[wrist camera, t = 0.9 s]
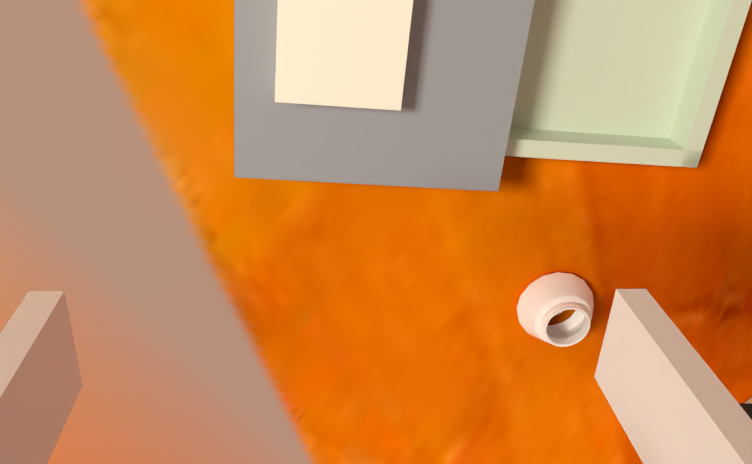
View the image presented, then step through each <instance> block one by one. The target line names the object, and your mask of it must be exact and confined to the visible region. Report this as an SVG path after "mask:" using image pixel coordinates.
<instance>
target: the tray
mask: <svg viewBox="0 0 752 464" xmlns="http://www.w3.org/2000/svg"><path fill="white" fill-rule="evenodd" d="M751 1H752V0H535V1H534V6H533V12H532V17H531V22H530V27H529V33H528V38H527V43H526V48H525V54H524V59H523V64H522V69H521V75H520V80H519V85H518V90H517V96H516V101H515V106H514V111H513V116H512V122H511V127H510V132H509V137H508V143H507V148H506V153H505V156H514V157H530V158H547V159H563V160H580V161H596V162H613V163H629V164H646V165H662V166H679V167H695V168H697V167H698V163H699V160H700V157H701V154H702V151H703V148H704V145H705V142H706V139H707V136H708V133H709V130H710V127H711V124H712V121H713V118H714V115H715V111H716V108H717V105H718V102H719V99H720V96H721V93H722V90H723V87H724V84H725V81H726V78H727V75H728V72H729V69H730V66H731V63H732V59H733V56H734V53H735V50H736V47H737V44H738V41H739V38H740V35H741V32H742V29H743V26H744V23H745V20H746V17H747V14H748V10H749V7H750V4H751Z"/></svg>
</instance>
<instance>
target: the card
mask: <svg viewBox="0 0 752 464" xmlns="http://www.w3.org/2000/svg"><path fill="white" fill-rule="evenodd" d="M412 8H413V0H278V6H277V40H276V74H275V102H281V103H296V104H311V105H325V106H340V107H355V108H370V109H384V110H399V111H401V104H402V95H403V86H404V78H405V69H406V60H407V51H408V43H409V34H410V25H411V16H412Z"/></svg>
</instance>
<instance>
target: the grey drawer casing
mask: <svg viewBox="0 0 752 464" xmlns="http://www.w3.org/2000/svg"><path fill="white" fill-rule="evenodd" d="M534 1H535V0H413V8H412V16H411V25H410V34H409V43H408V51H407V60H406V69H405V78H404V86H403V95H402V104H401V111H399V110H384V109H370V108H355V107H340V106H325V105H311V104H296V103H281V102H275V74H276V40H277V6H278V0H235V6H234V177H241V178H259V179H278V180H296V181H315V182H333V183H352V184H370V185H389V186H407V187H426V188H444V189H463V190H481V191H498V190H499V185H500V179H501V174H502V169H503V164H504V158H505V153H506V148H507V143H508V137H509V132H510V127H511V122H512V116H513V111H514V106H515V101H516V96H517V90H518V85H519V80H520V75H521V69H522V64H523V59H524V54H525V48H526V43H527V38H528V33H529V27H530V22H531V17H532V12H533V6H534Z"/></svg>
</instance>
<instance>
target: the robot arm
mask: <svg viewBox="0 0 752 464" xmlns="http://www.w3.org/2000/svg"><path fill="white" fill-rule="evenodd" d="M595 379H596V381H597V382H598V384H599V386H600V388H601V390H602V391H603V393H604V395H605V397H606V398H607V400H608V402H609V404H610V406H611V407H612V409H613V411H614V413H615V414H616V416H617V418H618V420H619V422H620V423H621V425H622V427H623V429H624V430H625V432H626V434H627V436H628V438H629V439H630V441H631V443H632V445H633V446H634V448H635V450H636V452H637V454H638V455H639V457H640V459H641V461H642V462H643V464H752V403H740V404H739V403H738V402H737V401H736V400H735V399H734V397H733V396H732V395H731V394H730V392H729V391H728V390H727V389H726V387H725V386H724V385H723V384H722V382H721V381H720V380H719V379H718V377H717V376H716V375H715V374H714V373H713V371H712V370H711V369H710V368H709V366H708V365H707V364H706V363H705V361H704V360H703V359H702V358H701V356H700V355H699V354H698V353H697V351H696V350H695V349H694V348H693V347H692V345H691V344H690V343H689V342H688V340H687V339H686V338H685V337H684V335H683V334H682V333H681V332H680V330H679V329H678V328H677V327H676V325H675V324H674V323H673V322H672V321H671V319H670V318H669V317H668V316H667V314H666V313H665V312H664V311H663V309H662V308H661V307H660V306H659V304H658V303H657V302H656V301H655V299H654V298H653V297H652V296H651V295H650V293H649V292H648V291H647V290H646V289H616V292H615V296H614V300H613V304H612V308H611V312H610V316H609V320H608V324H607V328H606V332H605V336H604V340H603V344H602V348H601V352H600V356H599V361H598V365H597V369H596V373H595ZM81 387H82V381H81V376H80V371H79V366H78V360H77V355H76V350H75V345H74V340H73V335H72V330H71V324H70V320H69V314H68V309H67V304H66V298H65V294H64V291H29V292H28V294H27V295H26V297H25V298H24V300H23V301H22V303H21V304H20V305H19V307H18V308H17V310H16V311H15V313H14V314H13V316H12V317H11V319H10V320H9V322H8V323H7V325H6V326H5V328H4V329H3V330H2V332H1V333H0V464H47V463H48V460H49V458H50V456H51V454H52V451H53V449H54V447H55V445H56V443H57V440H58V438H59V436H60V434H61V432H62V429H63V427H64V425H65V423H66V421H67V418H68V416H69V414H70V412H71V410H72V407H73V405H74V403H75V401H76V398H77V396H78V394H79V392H80V390H81Z"/></svg>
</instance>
